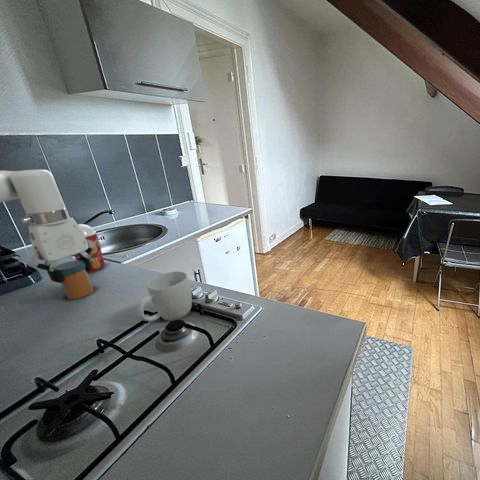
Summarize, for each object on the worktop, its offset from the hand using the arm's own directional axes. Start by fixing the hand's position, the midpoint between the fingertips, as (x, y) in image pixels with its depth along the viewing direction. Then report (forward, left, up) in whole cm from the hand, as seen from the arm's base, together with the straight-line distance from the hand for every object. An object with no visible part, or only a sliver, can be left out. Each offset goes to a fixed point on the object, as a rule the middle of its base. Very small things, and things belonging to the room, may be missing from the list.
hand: (73, 275), depth 76 cm
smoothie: (-15, +13, -7) cm, 21 cm away
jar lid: (0, 0, +3) cm, 3 cm away
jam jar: (0, 0, -7) cm, 7 cm away
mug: (+36, -1, -7) cm, 37 cm away
